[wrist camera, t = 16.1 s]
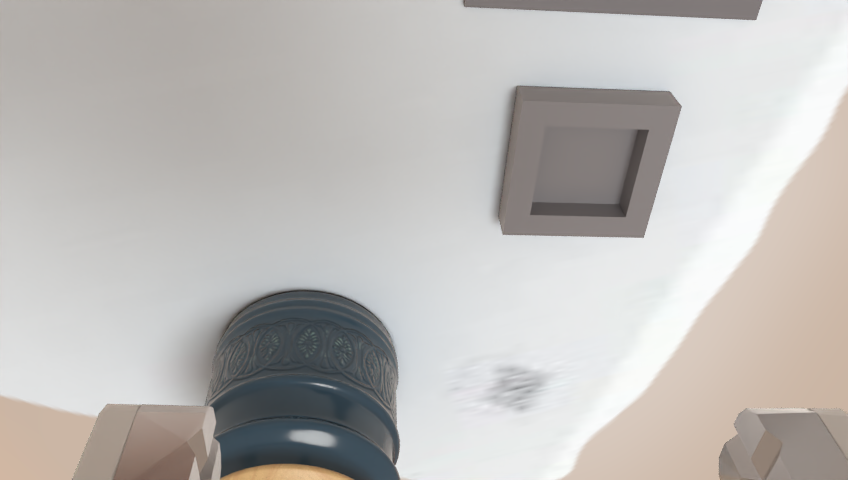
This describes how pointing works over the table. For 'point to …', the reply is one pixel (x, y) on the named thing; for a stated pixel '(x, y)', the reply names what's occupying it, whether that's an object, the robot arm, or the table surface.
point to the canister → (305, 392)
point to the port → (636, 7)
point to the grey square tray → (585, 161)
